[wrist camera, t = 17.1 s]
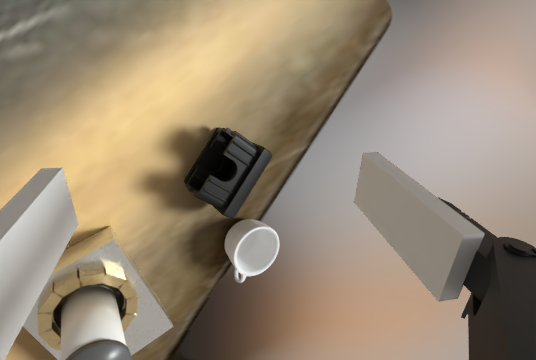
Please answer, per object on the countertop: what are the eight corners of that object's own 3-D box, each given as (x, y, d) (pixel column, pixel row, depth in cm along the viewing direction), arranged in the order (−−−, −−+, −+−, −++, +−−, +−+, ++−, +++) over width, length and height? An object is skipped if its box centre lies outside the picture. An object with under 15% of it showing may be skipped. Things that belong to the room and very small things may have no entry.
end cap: (220, 206, 48) (241, 224, 42) (180, 185, 43) (197, 202, 38) (256, 149, 48) (281, 159, 42) (219, 122, 44) (242, 130, 38)
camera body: (4, 282, 36) (-4, 312, 31) (110, 225, 40) (115, 245, 36) (84, 363, 43) (86, 396, 39) (166, 308, 48) (176, 333, 43)
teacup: (227, 209, 48) (244, 223, 44) (268, 216, 53) (286, 230, 48) (207, 269, 49) (221, 289, 45) (248, 271, 54) (264, 289, 49)
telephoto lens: (46, 306, 35) (41, 379, 27) (101, 274, 37) (111, 333, 29) (78, 339, 38) (82, 414, 30) (127, 308, 40) (143, 370, 32)
